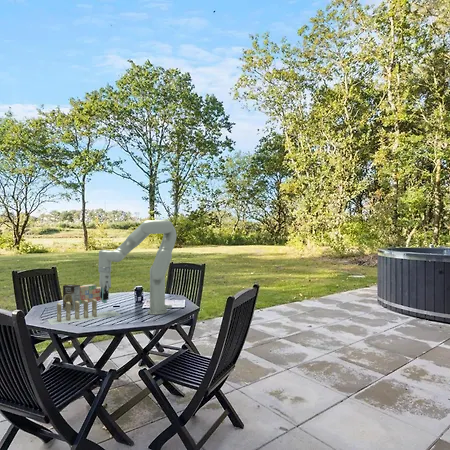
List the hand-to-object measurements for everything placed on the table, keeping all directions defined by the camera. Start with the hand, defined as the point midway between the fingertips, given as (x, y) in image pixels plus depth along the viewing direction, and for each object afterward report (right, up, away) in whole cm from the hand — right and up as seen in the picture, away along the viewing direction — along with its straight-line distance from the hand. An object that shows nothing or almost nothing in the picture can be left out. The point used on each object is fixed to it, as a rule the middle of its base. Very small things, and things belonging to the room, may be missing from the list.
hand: (104, 298), depth 226 cm
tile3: (-9, -10, -6) cm, 15 cm away
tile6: (-22, -10, -15) cm, 28 cm away
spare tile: (0, -2, 0) cm, 2 cm away
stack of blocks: (-24, -11, +44) cm, 51 cm away
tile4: (-13, -10, -9) cm, 19 cm away
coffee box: (-28, -11, +17) cm, 35 cm away
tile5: (-17, -10, -12) cm, 23 cm away
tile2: (-5, -10, -4) cm, 12 cm away
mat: (-10, -10, -7) cm, 16 cm away
